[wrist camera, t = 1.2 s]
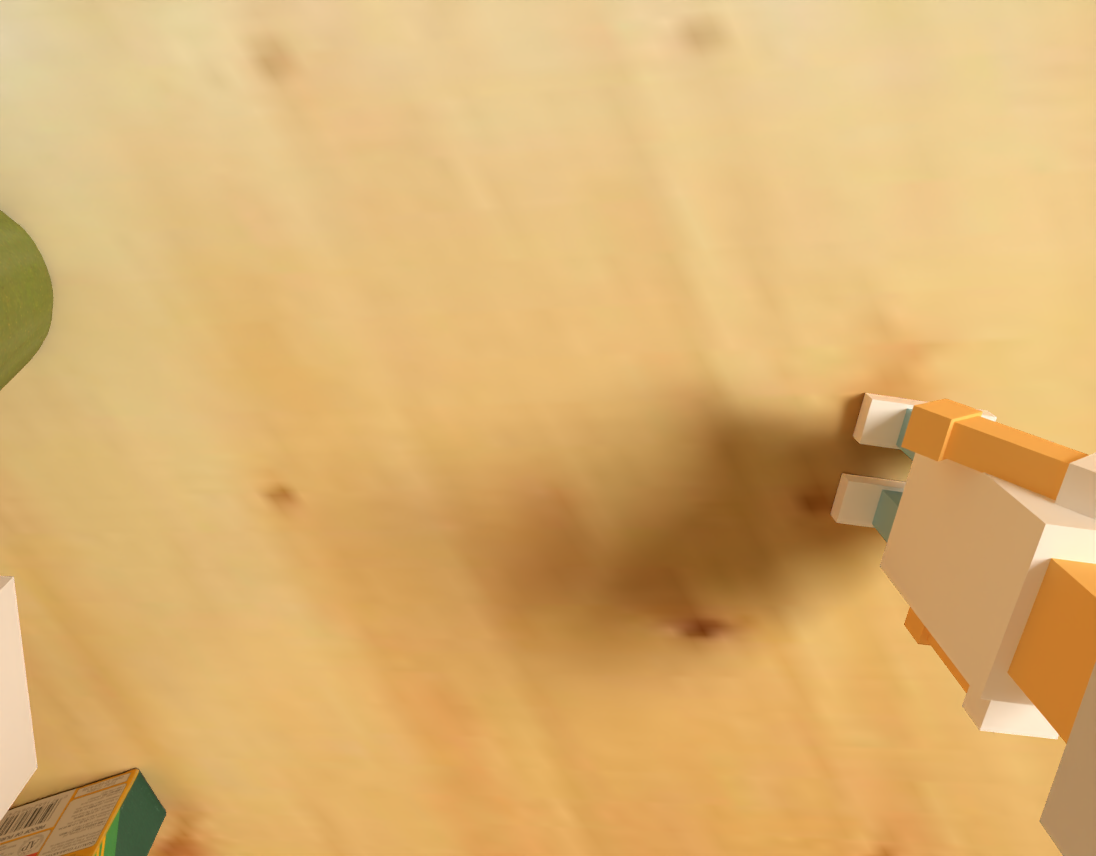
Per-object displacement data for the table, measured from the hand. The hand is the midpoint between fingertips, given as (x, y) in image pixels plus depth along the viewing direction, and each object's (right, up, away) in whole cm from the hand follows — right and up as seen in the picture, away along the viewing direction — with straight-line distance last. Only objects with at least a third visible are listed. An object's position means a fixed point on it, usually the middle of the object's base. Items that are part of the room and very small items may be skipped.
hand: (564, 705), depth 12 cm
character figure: (+14, +2, +26) cm, 30 cm away
